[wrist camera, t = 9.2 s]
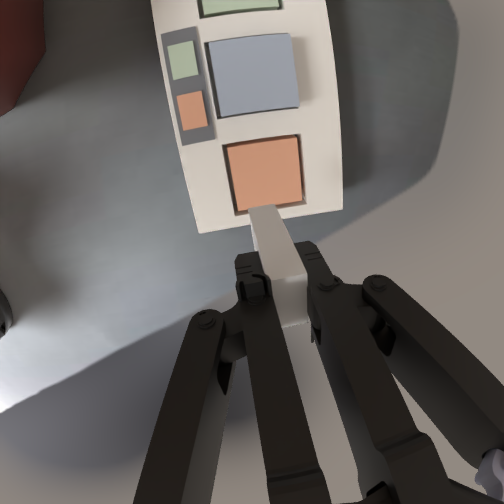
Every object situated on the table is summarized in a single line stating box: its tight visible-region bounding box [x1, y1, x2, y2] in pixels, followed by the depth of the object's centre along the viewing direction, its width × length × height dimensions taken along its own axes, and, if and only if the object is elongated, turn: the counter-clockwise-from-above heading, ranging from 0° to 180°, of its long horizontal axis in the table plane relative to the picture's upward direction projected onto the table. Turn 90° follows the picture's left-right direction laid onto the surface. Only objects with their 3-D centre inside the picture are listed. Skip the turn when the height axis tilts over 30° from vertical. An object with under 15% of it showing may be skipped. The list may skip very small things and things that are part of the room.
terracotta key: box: [227, 134, 302, 211], centre depth 26 cm, size 6×6×2 cm
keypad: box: [151, 0, 343, 234], centre depth 22 cm, size 14×27×5 cm, turn 8°
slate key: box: [209, 34, 300, 117], centre depth 20 cm, size 6×6×2 cm
